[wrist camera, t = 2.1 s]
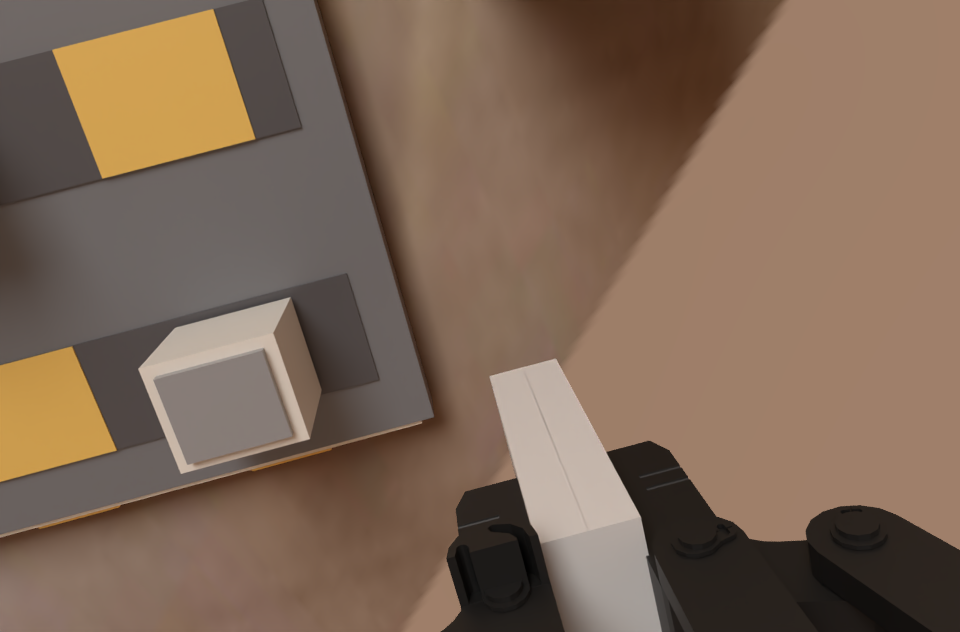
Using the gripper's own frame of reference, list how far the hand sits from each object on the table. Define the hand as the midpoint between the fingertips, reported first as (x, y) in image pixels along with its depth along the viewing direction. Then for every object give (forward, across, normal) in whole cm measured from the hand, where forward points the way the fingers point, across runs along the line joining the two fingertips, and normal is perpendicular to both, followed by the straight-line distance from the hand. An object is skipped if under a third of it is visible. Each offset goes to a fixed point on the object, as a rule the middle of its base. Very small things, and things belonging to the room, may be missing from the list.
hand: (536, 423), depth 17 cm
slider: (+10, -8, 0) cm, 13 cm away
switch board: (+12, -14, +5) cm, 19 cm away
